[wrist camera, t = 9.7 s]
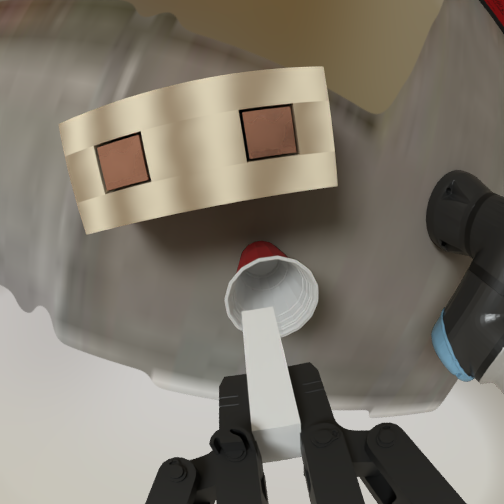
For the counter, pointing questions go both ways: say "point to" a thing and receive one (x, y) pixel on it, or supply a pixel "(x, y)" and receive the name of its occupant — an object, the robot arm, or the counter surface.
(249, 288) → the plastic cup
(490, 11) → the cleaning product box
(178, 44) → the counter surface
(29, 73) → the counter surface
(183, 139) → the collar block
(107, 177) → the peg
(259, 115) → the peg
